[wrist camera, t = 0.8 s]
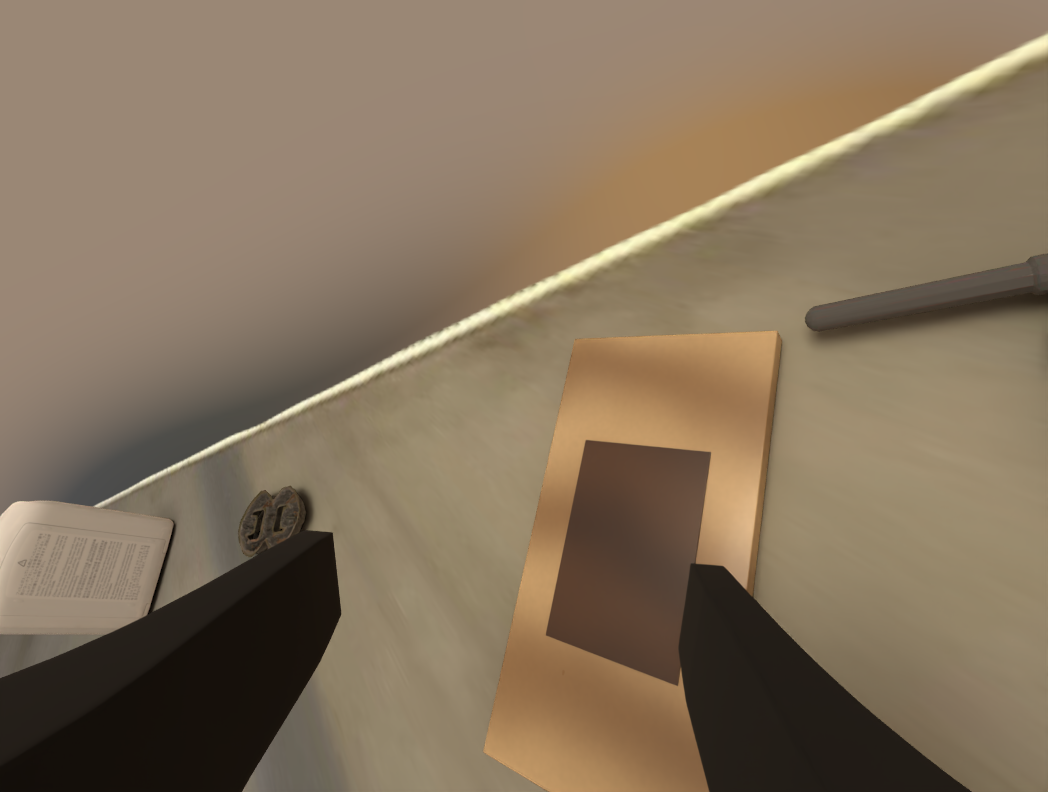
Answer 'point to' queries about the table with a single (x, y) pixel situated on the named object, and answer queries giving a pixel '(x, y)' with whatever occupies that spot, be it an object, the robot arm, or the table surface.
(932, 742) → the table surface
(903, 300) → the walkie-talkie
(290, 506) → the corroded twin loop
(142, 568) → the photo printer
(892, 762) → the robot arm
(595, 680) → the board
